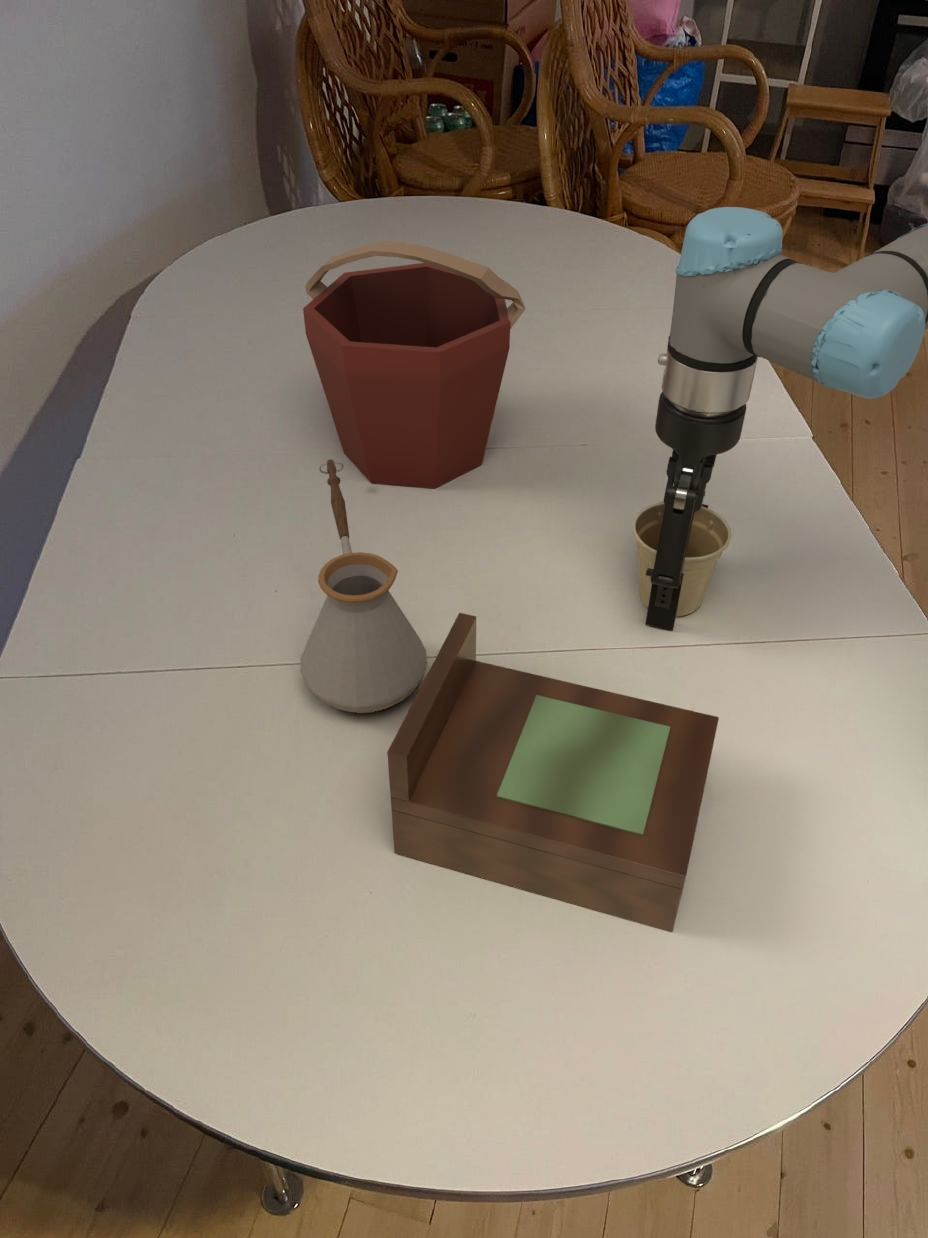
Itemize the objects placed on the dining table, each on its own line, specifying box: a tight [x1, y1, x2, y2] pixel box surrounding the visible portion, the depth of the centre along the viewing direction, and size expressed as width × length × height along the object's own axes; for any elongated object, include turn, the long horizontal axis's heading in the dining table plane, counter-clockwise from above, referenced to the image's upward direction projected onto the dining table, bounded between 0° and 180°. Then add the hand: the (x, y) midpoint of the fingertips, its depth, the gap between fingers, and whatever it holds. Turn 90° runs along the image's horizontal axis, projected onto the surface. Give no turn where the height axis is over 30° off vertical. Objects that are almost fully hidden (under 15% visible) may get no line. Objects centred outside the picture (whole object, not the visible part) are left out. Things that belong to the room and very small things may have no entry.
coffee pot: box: [299, 458, 428, 714], centre depth 95 cm, size 21×12×15 cm, turn 13°
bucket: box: [302, 240, 527, 490], centre depth 117 cm, size 24×22×25 cm
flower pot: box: [631, 501, 733, 617], centre depth 103 cm, size 9×9×9 cm
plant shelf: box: [386, 612, 719, 933], centre depth 81 cm, size 22×16×12 cm
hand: (668, 595), depth 105 cm, fingers open, 9 cm apart
